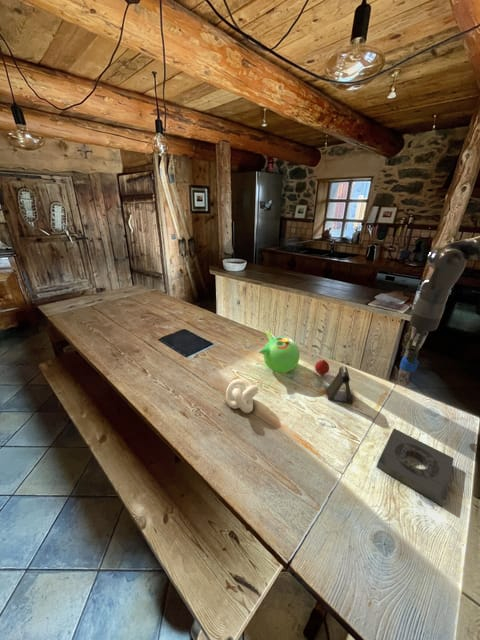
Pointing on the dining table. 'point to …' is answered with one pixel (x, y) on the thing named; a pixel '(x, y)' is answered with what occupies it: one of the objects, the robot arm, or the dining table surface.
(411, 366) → the sink plug
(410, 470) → the dark rectangular plate
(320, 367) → the strawberry
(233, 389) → the cream knot sculpture
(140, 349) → the dining table surface
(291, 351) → the toy bird
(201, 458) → the dining table surface
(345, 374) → the phone stand
